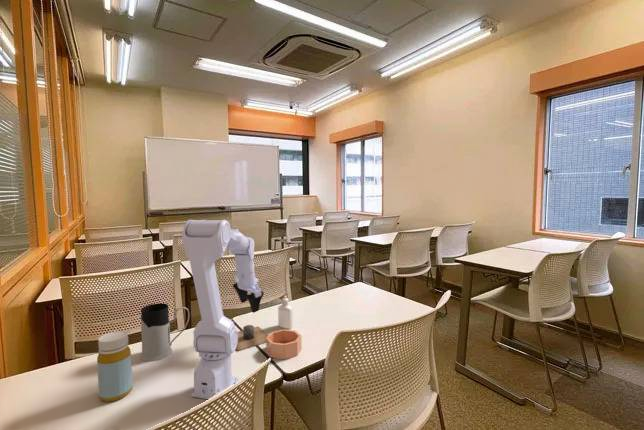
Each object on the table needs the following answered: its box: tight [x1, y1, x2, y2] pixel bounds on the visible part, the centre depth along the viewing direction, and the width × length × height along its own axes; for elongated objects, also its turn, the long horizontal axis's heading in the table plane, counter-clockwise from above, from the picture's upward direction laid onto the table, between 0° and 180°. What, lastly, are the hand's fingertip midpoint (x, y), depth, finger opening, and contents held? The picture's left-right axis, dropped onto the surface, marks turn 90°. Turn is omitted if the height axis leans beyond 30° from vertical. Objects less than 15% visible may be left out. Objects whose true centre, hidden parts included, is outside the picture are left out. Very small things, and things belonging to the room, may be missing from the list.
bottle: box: [96, 330, 133, 403], centre depth 79 cm, size 7×7×15 cm
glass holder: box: [140, 302, 190, 362], centre depth 100 cm, size 9×14×15 cm, turn 118°
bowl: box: [265, 328, 302, 360], centre depth 101 cm, size 10×10×4 cm
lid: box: [235, 324, 269, 352], centre depth 110 cm, size 13×13×5 cm
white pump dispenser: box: [277, 295, 294, 330], centre depth 119 cm, size 4×6×12 cm
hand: (249, 306), depth 108 cm, fingers open, 7 cm apart
